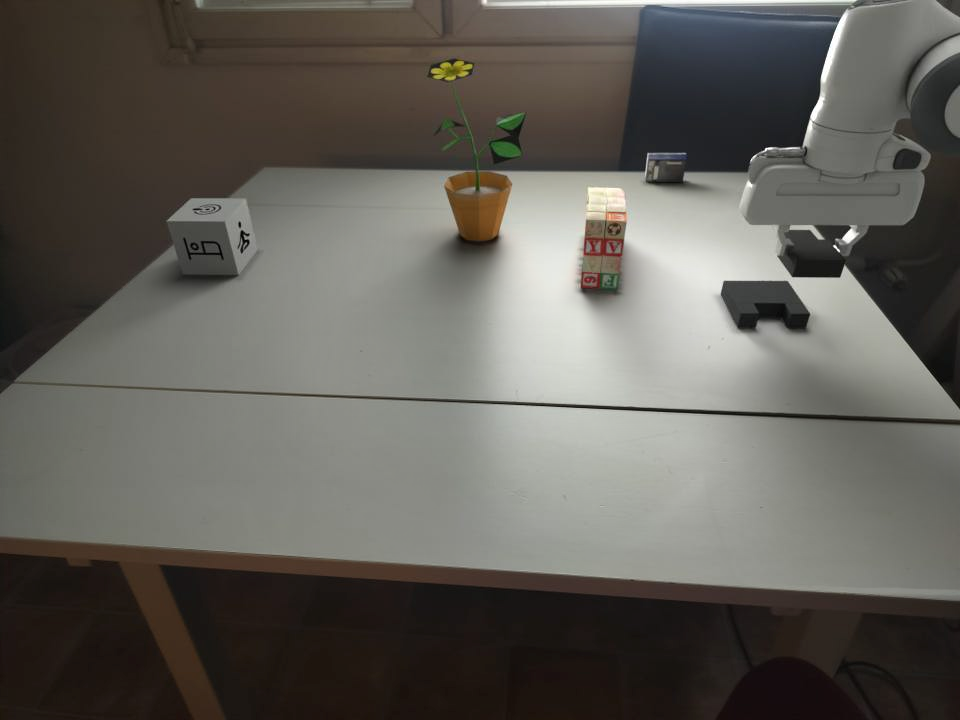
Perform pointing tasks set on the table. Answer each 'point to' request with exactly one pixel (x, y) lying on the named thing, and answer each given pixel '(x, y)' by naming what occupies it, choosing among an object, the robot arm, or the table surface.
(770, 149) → the robot arm
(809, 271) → the black tabbed insert block
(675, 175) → the mini dv tape
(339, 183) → the table surface
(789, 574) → the table surface
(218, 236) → the icon cube
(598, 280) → the stack of blocks
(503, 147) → the potted plant
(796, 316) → the base
